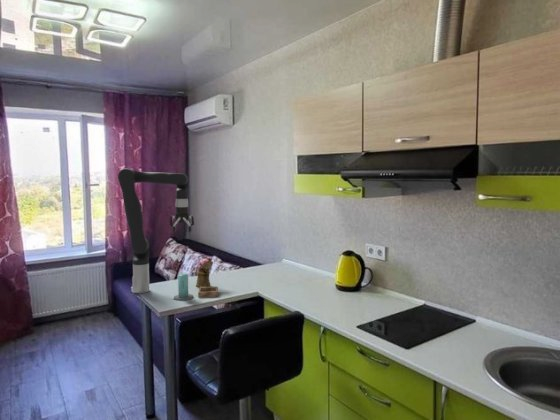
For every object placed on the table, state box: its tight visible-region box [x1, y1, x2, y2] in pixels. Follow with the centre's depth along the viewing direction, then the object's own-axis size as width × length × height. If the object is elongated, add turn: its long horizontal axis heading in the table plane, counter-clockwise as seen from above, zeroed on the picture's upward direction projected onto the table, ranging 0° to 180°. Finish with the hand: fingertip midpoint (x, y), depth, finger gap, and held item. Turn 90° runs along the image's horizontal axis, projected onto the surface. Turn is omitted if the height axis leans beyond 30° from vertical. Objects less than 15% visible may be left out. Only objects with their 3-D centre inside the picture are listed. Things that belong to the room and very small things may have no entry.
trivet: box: [173, 293, 194, 302], centre depth 226 cm, size 11×11×1 cm
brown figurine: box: [195, 260, 214, 289], centre depth 248 cm, size 9×14×18 cm, turn 43°
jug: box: [177, 273, 189, 298], centre depth 224 cm, size 8×6×13 cm
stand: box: [197, 286, 219, 298], centre depth 233 cm, size 11×11×3 cm
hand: (182, 232), depth 239 cm, fingers open, 8 cm apart
